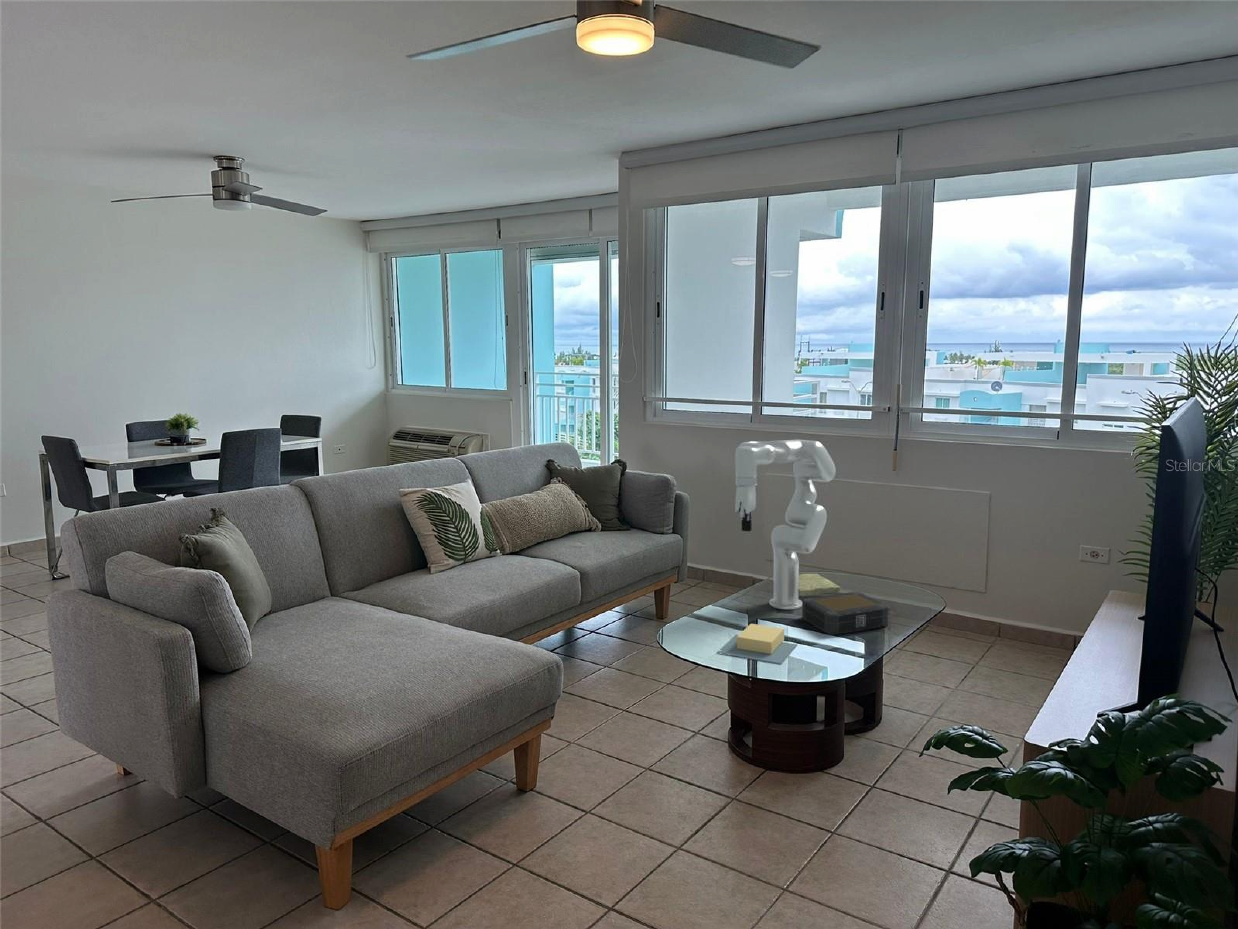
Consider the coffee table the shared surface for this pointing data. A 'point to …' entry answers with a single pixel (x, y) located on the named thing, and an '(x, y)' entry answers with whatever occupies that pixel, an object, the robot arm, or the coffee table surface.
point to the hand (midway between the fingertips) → (746, 530)
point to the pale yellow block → (760, 638)
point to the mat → (775, 657)
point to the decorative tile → (815, 585)
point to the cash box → (844, 612)
